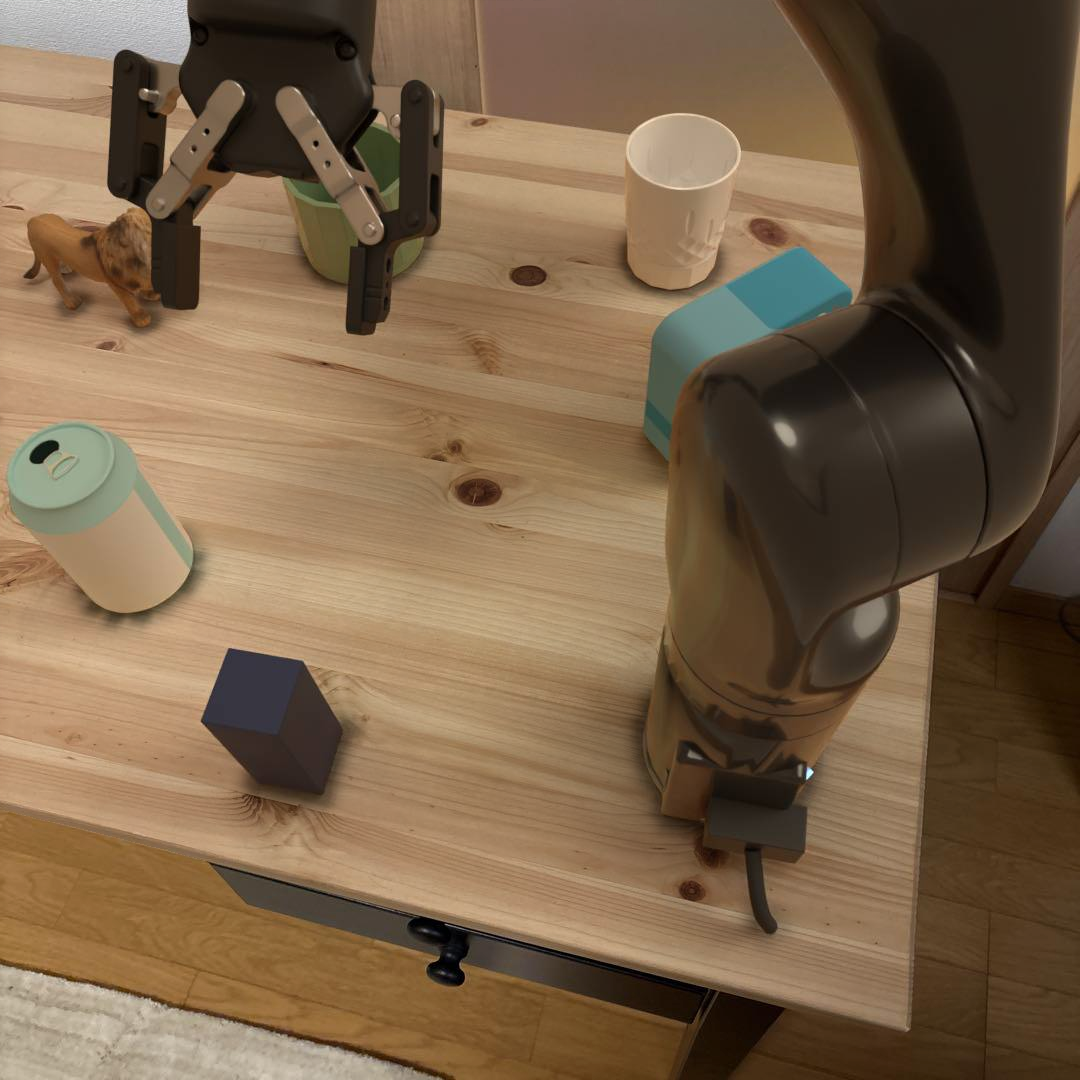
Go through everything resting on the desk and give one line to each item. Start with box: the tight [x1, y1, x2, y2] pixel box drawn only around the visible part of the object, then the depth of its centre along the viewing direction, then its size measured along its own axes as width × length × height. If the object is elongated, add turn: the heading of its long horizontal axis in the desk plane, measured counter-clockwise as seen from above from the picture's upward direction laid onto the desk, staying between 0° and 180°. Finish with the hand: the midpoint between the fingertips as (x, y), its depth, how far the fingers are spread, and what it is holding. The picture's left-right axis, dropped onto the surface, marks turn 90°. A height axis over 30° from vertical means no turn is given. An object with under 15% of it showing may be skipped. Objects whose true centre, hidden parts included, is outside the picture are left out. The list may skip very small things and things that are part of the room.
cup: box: [281, 121, 425, 285], centre depth 76 cm, size 9×9×8 cm
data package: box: [642, 246, 854, 463], centre depth 64 cm, size 12×4×12 cm, turn 123°
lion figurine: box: [22, 206, 161, 328], centre depth 73 cm, size 15×5×9 cm, turn 77°
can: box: [5, 420, 194, 614], centre depth 59 cm, size 7×7×12 cm
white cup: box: [624, 112, 742, 291], centre depth 73 cm, size 8×8×10 cm
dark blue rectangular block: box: [200, 647, 344, 795], centre depth 54 cm, size 4×4×10 cm
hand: (269, 321), depth 45 cm, fingers open, 8 cm apart
